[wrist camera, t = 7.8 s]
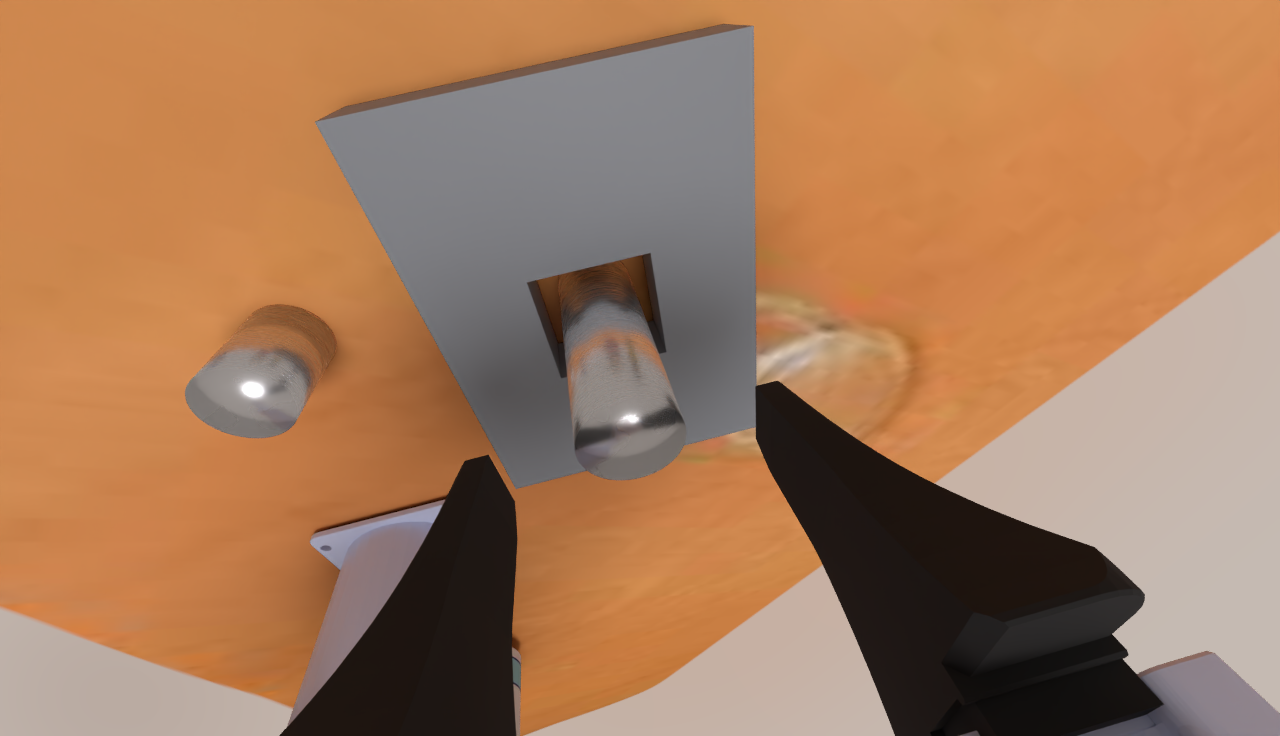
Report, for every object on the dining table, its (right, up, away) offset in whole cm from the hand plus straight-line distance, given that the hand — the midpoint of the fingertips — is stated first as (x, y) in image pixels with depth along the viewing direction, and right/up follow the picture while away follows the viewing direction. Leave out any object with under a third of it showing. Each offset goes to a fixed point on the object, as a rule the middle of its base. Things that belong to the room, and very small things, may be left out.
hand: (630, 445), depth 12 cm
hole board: (-2, +5, +7) cm, 9 cm away
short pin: (-13, +3, +6) cm, 15 cm away
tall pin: (-2, +5, +7) cm, 9 cm away
